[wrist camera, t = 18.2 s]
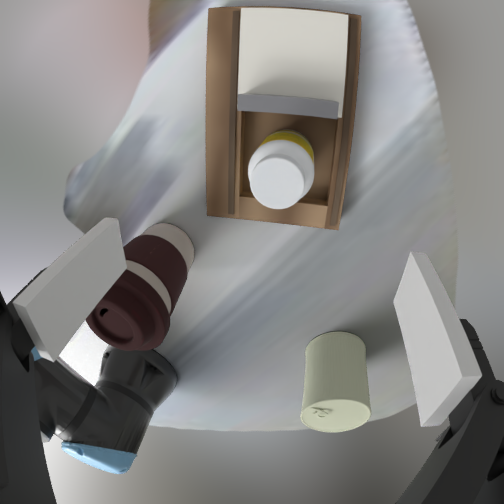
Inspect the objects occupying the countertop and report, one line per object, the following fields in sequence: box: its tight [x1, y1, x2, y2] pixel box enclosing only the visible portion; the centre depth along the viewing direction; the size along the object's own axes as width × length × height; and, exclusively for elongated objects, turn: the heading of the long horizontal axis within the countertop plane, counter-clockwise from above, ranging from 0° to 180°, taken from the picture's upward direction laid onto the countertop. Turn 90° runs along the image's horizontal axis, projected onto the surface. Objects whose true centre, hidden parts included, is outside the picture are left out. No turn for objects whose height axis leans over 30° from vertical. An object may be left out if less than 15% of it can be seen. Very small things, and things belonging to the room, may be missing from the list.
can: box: [301, 331, 371, 432], centre depth 39 cm, size 9×9×12 cm
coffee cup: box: [86, 223, 194, 351], centre depth 33 cm, size 10×10×15 cm
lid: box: [237, 8, 348, 119], centre depth 22 cm, size 9×10×4 cm
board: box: [206, 6, 361, 230], centre depth 28 cm, size 14×22×2 cm, turn 178°
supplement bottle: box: [248, 129, 314, 209], centre depth 26 cm, size 5×5×10 cm
